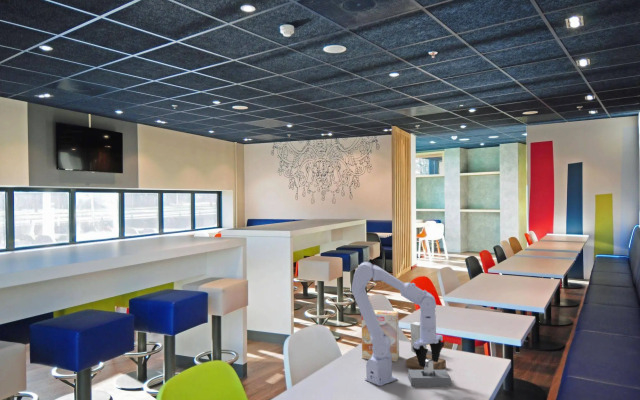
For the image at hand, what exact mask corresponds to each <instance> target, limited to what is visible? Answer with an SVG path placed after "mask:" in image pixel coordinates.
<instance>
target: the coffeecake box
mask: <svg viewBox="0 0 640 400" xmlns="http://www.w3.org/2000/svg"><path fill="white" fill-rule="evenodd" d="M373 310H374V312H375V314H376V317H377V319H378V321H379V324H380V326H381V328H382V329H383V331H384V333H385V335H386V336H388V337H389V339H390V341H391V345H390V353H391V354H392V362H398V359H399V357H400V332H399V331H400V330H399V329H400V326H399V325H400V324H399V323H400V322H399V321H400V320H399V317H400V316H399V310H397V311H395V310H379V309H373ZM372 354H373V344H372V342H371V338H370V333H369V331H368V329H367V326H366V324H365V321H364V319H363V317H362V316H361V357H362V358H361V359H363V360H369V359H371V357H372Z"/></svg>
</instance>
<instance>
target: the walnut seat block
mask: <svg viewBox="0 0 640 400" xmlns="http://www.w3.org/2000/svg"><path fill="white" fill-rule="evenodd" d="M426 359H432V354H428V353H427V355H426ZM405 362H406V363H405V365H406V366H405V367H406V368H408V369H410V370H424V367H421V366H420V365H419V362H418V358H417V356H416V355H415V356H412V357H409V358H406V359H405ZM446 368H447V360H446V359H443V358H441V357H439V360H438V362H435V361H433V370H444V369H446Z"/></svg>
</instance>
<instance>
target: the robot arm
mask: <svg viewBox="0 0 640 400" xmlns="http://www.w3.org/2000/svg"><path fill="white" fill-rule="evenodd" d="M352 278H353V279H352V283H351V284H352V285H351V293H352V295H353V297H354V300H355V303H356V305H357V307H358V309H359V312H360V315H361V318H362V317H363V319H364V321H365V324H366V326H367V329H368V331H369V333H370V338H371V342H372V344H373V354H372V357H371V359H367V360H366V362H365V363H366V365H365V366H366V367H365V368H366V370H365V371H366V378H364V380H365V381H367V382H369V383H372V384H374V385H377V386H384V385H387V384H389V383H392V382H393V381H397V380H398V378H397V377H396V376H393V361H392V354H391V353H390V345H391V341H390V339H389V337H388V336H386V335H385V333H384V331H383V329H382V328H381V326H380V324H379V321H378V319H377V317H376V314H375V312H374V310H375V309H374V308H373V305H372V303H371V301H370V299H369V295H368V294H367V291H366V287H367V285H368V283H369V282H370V281H371V280H372V281H375V282H377V281H381V282H384V283H385V284H387V285H389V286H390V287H392V288H394V289H396V290H398V291H399V292H400V295H401V296H402V297H403V298H405V299H406V300H408V301H410V302H412V303H413V304H415V305H416V306H417V305H418V306H419V308H420V313H419V322H420V339H418V340H417V341H416V342H414V343H413V344H414V346H413V350H414V351H413V352H414V354H415V356H417V358H418V362H419V365H420V366H421V367H425V365H426V355H427V354H428V351H429V349H427V348H426V349H425V348H424V347H423V346H425V345H426V346H428V345H429V347H430V351H431V352H430V353H431V356H432V360H433V361H435V362H438V360H439V358H440V355H441V352H442V349H443V348H444V345H445V344H444V343H445V342H444V341H443V340H444V339H443V335H442V334H437V320H436V318H437V315H436V307H437V302H436V299H435V296H434V295H432V293H431V292H428V291H427V290H426V289H424V290H422V289H421V288H419V287H418V286H416V283H414V282H412V283H411V282H403V281H401V279H399V278H397V277H395V276H394V275H392V274H390V272H387V271H386V270H385V269H383V268H382V267H380V266H379V265H376V264H373V263H371V262H370V261H363V262H361V263H360V264H359V265H358V267H357V268H356V270H355V271H354V273H353V277H352Z"/></svg>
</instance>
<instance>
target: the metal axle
mask: <svg viewBox="0 0 640 400" xmlns="http://www.w3.org/2000/svg"><path fill="white" fill-rule="evenodd" d="M424 375H425V376H433V360H432V359H426V365H425V367H424Z"/></svg>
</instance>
